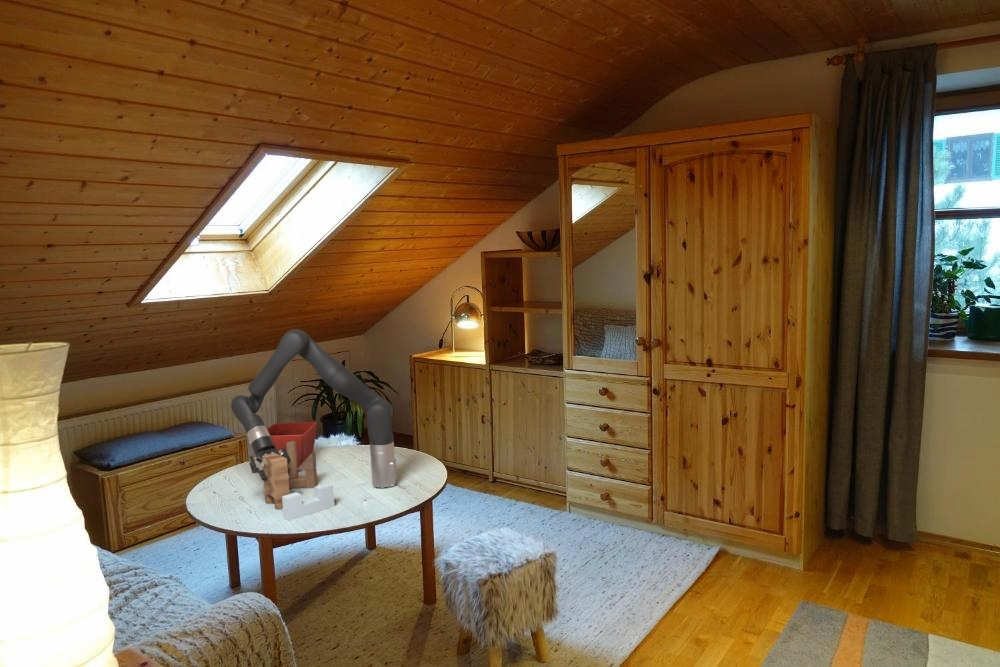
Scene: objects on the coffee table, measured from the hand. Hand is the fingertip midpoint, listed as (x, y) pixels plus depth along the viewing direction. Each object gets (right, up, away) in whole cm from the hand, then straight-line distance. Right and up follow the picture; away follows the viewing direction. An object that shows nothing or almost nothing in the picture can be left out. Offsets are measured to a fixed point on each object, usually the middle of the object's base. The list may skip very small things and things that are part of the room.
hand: (277, 477), depth 260 cm
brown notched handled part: (+4, -8, +20) cm, 22 cm away
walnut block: (0, -10, +2) cm, 11 cm away
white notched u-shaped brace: (+13, -11, -6) cm, 18 cm away
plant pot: (-8, -5, +44) cm, 45 cm away
